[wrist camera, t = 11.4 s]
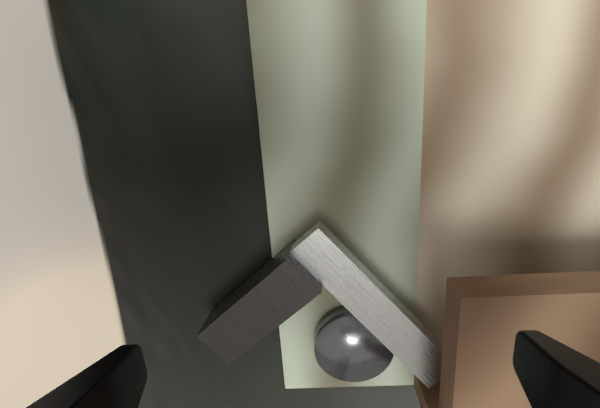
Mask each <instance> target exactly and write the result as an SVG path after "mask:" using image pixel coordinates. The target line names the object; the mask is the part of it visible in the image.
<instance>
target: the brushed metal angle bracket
mask: <svg viewBox="0 0 600 408" xmlns="http://www.w3.org/2000/svg"><path fill="white" fill-rule="evenodd" d="M322 286H324V287H325V288H326V289H327V290H328V291H329V292H330V293H331V294H332V295H333V296H334V297H335V298H336V299H337V300H338V301H339V302H340V303H341V304H342V305H343V306H344V307H345V308H346V309H347V310H348V311H349V312H351V313H352V314H353V315H354V316H355V317H356V318H357V319H358V320H359V321H360V322H361V323H362V324H363V325H364V326H365V327H366V328H367V329H368V330H369V331H370V332H371V333H372V334H373V335H374V336H375V337H376V338H377V339H378V340H379V341H380V342H381V343H382V344H383V345H384V346H385V347H386V348H387V349H389V350H390V351H391V352H392V353H393V354H394V355H395V356H396V357H397V358H398V359H399V360H400V361H401V362H402V363H403V364H404V365H405V366H406V367H407V368H408V369H409V370H410V371H411V372H412V373H413V374H414V375H415V376H416V377H417V378H418V379H419V380H420V381H421V382H422V383H423V384H424V385H425V386H427V387H428V388H430V387H432V386H433V385H435V384H437V383H438V382H440V380H441V363H442V347H443V344H442V343H441V342H440V341H439V340H438V339H437V338H436V337H435V336H434V335H433V334H432V333H431V332H430V331H429V330H428V329H427V328H426V327H425V326H424V325H423V324H422V323H421V322H420V321H419V320H418V319H417V318H416V317H415V316H414V315H413V314H412V313H411V312H410V311H409V310H408V309H407V308H406V307H405V306H404V305H403V304H402V303H401V302H400V301H399V300H398V299H397V298H396V297H395V296H394V295H393V294H392V293H391V292H390V291H389V290H388V289H387V288H386V287H385V286H384V285H383V284H382V283H381V282H380V281H379V280H378V279H377V278H376V277H375V276H374V275H373V274H372V273H371V272H370V271H369V270H368V269H367V268H366V267H365V266H364V265H363V264H362V263H361V262H360V261H359V260H358V259H357V258H356V257H355V256H354V255H353V254H352V253H351V252H350V251H349V250H348V249H347V247H346V246H345V245H344V244H343V243H342V242H341V241H340V240H339V239H338V238H337V237H336V236H335V235H334V234H333V233H332V232H331V231H330V230H329V229H328V228H327V227H326V226H325V225H324V224H323V223H322V222H321V221H319V222H318V223H317V224H315V225H314V226H313V227H312V228H311V229H310V230H308V231H307V232H306V233H305V234H304V235H303V236H301V237H300V238H299V239H298V240H297V241H296V240H295V239H294V240H292V241H291V242H290V243H289V244H288V245H287V246H285V247H284V248H283V249H282V250H281V251H280V252H279V253H277V254H276V255H275V256H274V257H273V258H272V259H270V260H269V261H268V262H267V263H266V264H265V265H264V266H262V267H261V268H260V269H259V270H258V271H257V272H255V273H254V274H253V275H252V276H251V277H250V278H249V279H247V280H246V281H245V282H244V283H243V284H242V285H240V286H239V287H238V288H237V289H236V290H235V291H234V292H232V293H231V294H230V295H229V296H228V297H227V298H225V299H224V300H223V301H222V302H221V303H220V304H219V305H217V306H216V307H215V308H214V309H213V310H212V311H211V313H210V314H209V316H208V318H207V319H206V321H205V323H204V325H203V326H202V328H201V330H200V331H199V333H198V335H197V337H198V338H199V339H200V340H201V341H202V342H204V343H205V344H206V345H207V346H208V347H209V348H210V349H211V350H213V351H214V352H215V353H216V354H217V355H218V356H219V357H221V358H222V359H223V360H224V361H225V362H226V363H227V364H228V365H229V364H231V363H232V362H233V361H235V360H236V359H237V358H238V357H240V356H241V355H242V354H244V353H245V352H246V351H247V350H249V349H250V348H251V347H253V346H254V345H255V344H256V343H258V342H259V341H260V340H262V339H263V338H264V337H265V336H267V335H268V334H269V333H271V332H272V331H273V330H274V329H276V328H277V327H278V326H280V325H281V324H282V323H283V322H285V321H286V320H287V319H288V318H290V317H291V316H292V315H294V314H295V313H296V312H297V311H299V310H300V309H301V308H303V307H304V306H305V305H306V304H308V303H309V302H310V301H312V300H313V299H314V298H315V297H317V296H318V295H319V294H321V293H322Z"/></svg>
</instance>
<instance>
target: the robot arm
mask: <svg viewBox="0 0 600 408" xmlns="http://www.w3.org/2000/svg"><path fill="white" fill-rule="evenodd" d="M513 367H514V370H515V372H516V375H517V377H518V379H519V381H520V383H521V385H522V388H523V390H524V392H525V394H526V396H527V399H528V401H529V403H530V405H531V407H532V408H600V363H599V362H597V361H595V360H594V359H592V358H590V357H588V356H586V355H584V354H582V353H580V352H578V351H576V350H574V349H572V348H570V347H569V346H567V345H565V344H563V343H561V342H559V341H557V340H555V339H553V338H551V337H549V336H547V335H545V334H544V333H542V332H540V331H537V330H521V331H518V332H517V334H516V337H515V344H514V352H513ZM146 381H147V369H146V365H145V361H144V356H143V352H142V349H141V347H140V346H139V345H137V344H134V345H122V346H120V347H118V348H117V349H115V350H114V351H112V352H111V353H109V354H108V355H106V356H105V357H103V358H101V359H100V360H99V361H97V362H96V363H94V364H92V365H91V366H89V367H88V368H86V369H85V370H83V371H82V372H80V373H79V374H77V375H76V376H74V377H72V378H71V379H69V380H68V381H66V382H65V383H63V384H62V385H60V386H59V387H57V388H56V389H54V390H52V391H51V392H49V393H48V394H46V395H45V396H43V397H42V398H40V399H39V400H37V401H36V402H34V403H33V404H31V405H30V406H28V407H26V408H138V405H139V402H140V399H141V396H142V393H143V390H144V387H145V384H146Z"/></svg>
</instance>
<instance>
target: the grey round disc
mask: <svg viewBox="0 0 600 408" xmlns="http://www.w3.org/2000/svg"><path fill="white" fill-rule="evenodd" d="M314 352H315V358H316V360H317V363H318V364H319V366H320V367H321V368H322V370H323V371H324V372H326V373H327V374H328V375H330V376H332V377H333V378H336V379H338V380H341V381H346V382H361V381H366V380H369V379H372V378H374V377H376V376H378V375H379V374H381V373H382V372H383V371H385V369H386V368H387V367H388V366H389V365H390V363H391V361H392V359H393V356H394V354H393V353H392V352H391V351H390V350H389V349H387V348H386V347H385V346H384V345H383V344H382V343H381V342H380V341H379V340H378V339H377V338H376V337H375V336H374V335H373V334H372V333H371V332H370V331H369V330H368V329H367V328H366V327H365V326H364V325H363V324H362V323H361V322H360V321H359V320H358V319H357V318H356V317H355V316H354V315H353V314H352V313H351V312H349V311H348V310H347V309H346V308H345V307H344V306H343V305H341V306H338V307H336V308H333V309H332V310H330V311H328V312H327V313H326V314H325V315H323V316H322V318H321V319H320V320H319V322H318V323H317V326H316V328H315V333H314Z"/></svg>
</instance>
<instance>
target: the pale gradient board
mask: <svg viewBox="0 0 600 408" xmlns="http://www.w3.org/2000/svg"><path fill="white" fill-rule="evenodd" d="M246 4H247V14H248V24H249V34H250V44H251V54H252V63H253V73H254V83H255V93H256V103H257V113H258V123H259V133H260V143H261V153H262V163H263V173H264V183H265V192H266V202H267V212H268V222H269V232H270V242H271V252H272V258H273V257H274V256H275V255H276V254H277V253H279V252H280V251H281V250H282V249H283V248H284V247H285V246H287V245H288V244H289V243H290V242H291V241H292V240H294V239H295V240H296V241H297V240H298V239H299V238H300V237H301V236H303V235H304V234H305V233H306V232H307V231H308V230H310V229H311V228H312V227H313V226H314V225H315V224H317V223H318V222H319V221H321V222H322V223H323V224H324V225H325V226H326V227H327V228H328V229H329V230H330V231H331V232H332V233H333V234H334V235H335V236H336V237H337V238H338V239H339V240H340V241H341V242H342V243H343V244H344V245H345V246H346V247H347V249H348V250H349V251H350V252H351V253H352V254H353V255H354V256H355V257H356V258H357V259H358V260H359V261H360V262H361V263H362V264H363V265H364V266H365V267H366V268H367V269H368V270H369V271H370V272H371V273H372V274H373V275H374V276H375V277H376V278H377V279H378V280H379V281H380V282H381V283H382V284H383V285H384V286H385V287H386V288H387V289H388V290H389V291H390V292H391V293H392V294H393V295H394V296H395V297H396V298H397V299H398V300H399V301H400V302H401V303H402V304H403V305H404V306H405V307H406V308H407V309H408V310H409V311H410V312H411V313H412V314H413V315H414V316H415V317H416V318H417V319H418V320H419V321H420V322H421V323H422V324H423V325H424V326H425V327H426V328H427V329H428V330H429V331H430V332H431V333H432V334H433V335H434V336H435V337H436V338H437V339H438V340H439V341H440V342H441V343H442V344H443V347H442V363H441V380H440V382H438V383H437V384H435V385H433V386H432V387H430V388H428V387H427V386H425V385H424V384H423V383H422V382H421V381H420V380H419V379H418V378H417V377H416V376H415V375H414V374H413V373H412V372H411V371H410V370H409V369H408V368H407V367H406V366H405V365H404V364H403V363H402V362H401V361H400V360H399V359H398V358H397V357H396V356H395V355H394V356H393V359H392V361H391V363H390V365H389V366H388V367H387V368H386V369H385V371H383V372H382V373H381V374H379V375H378V376H376V377H374V378H372V379H369V380H366V381H361V382H346V381H341V380H338V379H336V378H333V377H332V376H330V375H328V374H327V373H326V372H324V371H323V370H322V368H321V367H320V366H319V364H318V363H317V360H316V358H315V352H314V333H315V328H316V326H317V323H318V322H319V320H320V319H321V318H322V316H323V315H325V314H326V313H327V312H328V311H330V310H332V309H333V308H336V307H338V306H341V305H342V304H341V303H340V302H339V301H338V300H337V299H336V298H335V297H334V296H333V295H332V294H331V293H330V292H329V291H328V290H327V289H326V288H325V287H324V286H322V293H321V294H319V295H318V296H317V297H315V298H314V299H313V300H312V301H310V302H309V303H308V304H306V305H305V306H304V307H303V308H301V309H300V310H299V311H297V312H296V313H295V314H294V315H292V316H291V317H290V318H288V319H287V320H286V321H285V322H283V323H282V324H281V325H280V326H279V331H280V341H281V351H282V361H283V371H284V381H285V389H290V388H323V387H357V386H391V385H414V387H415V390H416V393H417V396H418V399H419V402H420V405H421V408H532V407H531V405H530V403H529V401H528V399H527V396H526V394H525V392H524V390H523V388H522V385H521V383H520V381H519V379H518V377H517V375H516V372H515V370H514V367H513V352H514V344H515V337H516V334H517V332H518V331H521V330H537V331H540V332H542V333H544V334H545V335H547V336H549V337H551V338H553V339H555V340H557V341H559V342H561V343H563V344H565V345H567V346H569V347H570V348H572V349H574V350H576V351H578V352H580V353H582V354H584V355H586V356H588V357H590V358H592V359H594V360H595V361H597V362H599V363H600V0H246Z"/></svg>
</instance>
